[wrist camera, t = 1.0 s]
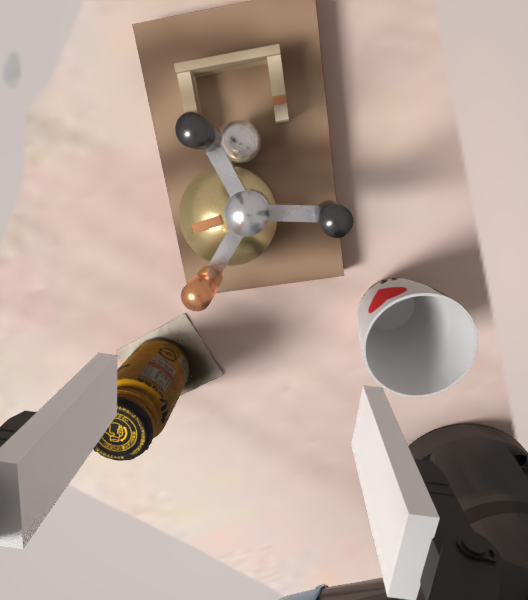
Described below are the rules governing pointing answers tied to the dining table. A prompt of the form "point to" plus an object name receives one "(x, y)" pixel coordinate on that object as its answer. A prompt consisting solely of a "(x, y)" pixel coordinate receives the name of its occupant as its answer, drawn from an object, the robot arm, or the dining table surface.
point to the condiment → (154, 385)
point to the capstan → (234, 212)
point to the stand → (254, 108)
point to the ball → (241, 140)
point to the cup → (414, 338)
